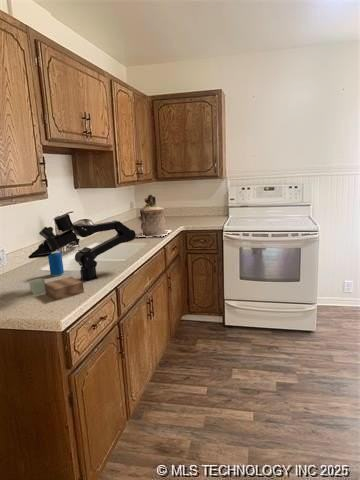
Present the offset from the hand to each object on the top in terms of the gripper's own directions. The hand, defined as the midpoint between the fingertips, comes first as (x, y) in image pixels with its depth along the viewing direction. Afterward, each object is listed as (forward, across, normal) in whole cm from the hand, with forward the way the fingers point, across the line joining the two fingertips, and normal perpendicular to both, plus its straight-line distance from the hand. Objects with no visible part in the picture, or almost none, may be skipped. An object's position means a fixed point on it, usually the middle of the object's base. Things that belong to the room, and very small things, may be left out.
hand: (30, 256), depth 151 cm
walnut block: (-3, +5, +21) cm, 22 cm away
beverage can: (-12, -26, +13) cm, 31 cm away
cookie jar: (-102, -80, +24) cm, 132 cm away
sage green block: (+4, -6, +15) cm, 17 cm away
